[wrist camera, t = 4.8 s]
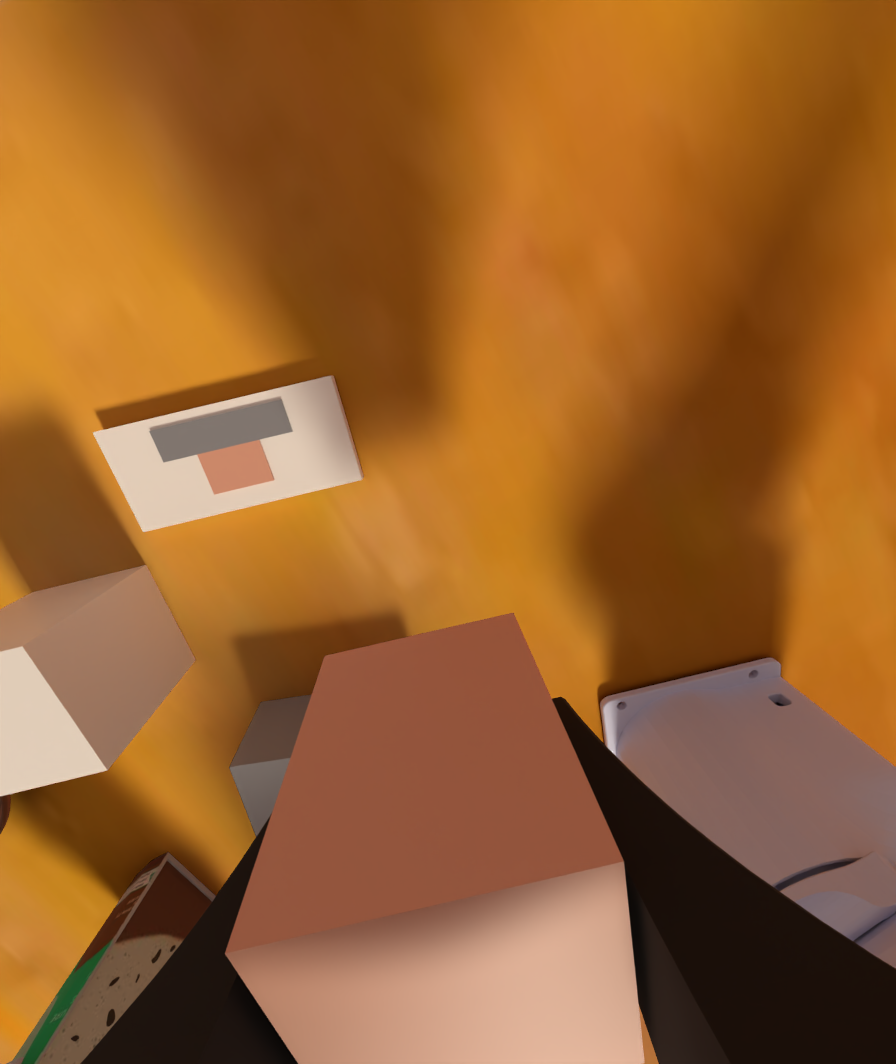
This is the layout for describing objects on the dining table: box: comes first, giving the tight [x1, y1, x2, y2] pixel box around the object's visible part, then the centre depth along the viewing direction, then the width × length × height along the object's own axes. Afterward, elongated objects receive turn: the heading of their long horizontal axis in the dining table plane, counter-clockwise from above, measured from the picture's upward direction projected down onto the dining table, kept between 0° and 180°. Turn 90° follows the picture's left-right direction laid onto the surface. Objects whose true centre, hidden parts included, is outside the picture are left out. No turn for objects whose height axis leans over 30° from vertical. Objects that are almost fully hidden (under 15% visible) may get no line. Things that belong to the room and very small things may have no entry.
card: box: [93, 376, 364, 532], centre depth 16 cm, size 9×4×1 cm, turn 103°
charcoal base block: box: [229, 694, 312, 837], centre depth 20 cm, size 8×8×4 cm
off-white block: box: [0, 565, 196, 796], centre depth 16 cm, size 5×5×6 cm
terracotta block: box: [225, 613, 644, 1064], centre depth 9 cm, size 5×5×6 cm
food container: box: [7, 852, 216, 1064], centre depth 20 cm, size 12×6×10 cm, turn 25°
